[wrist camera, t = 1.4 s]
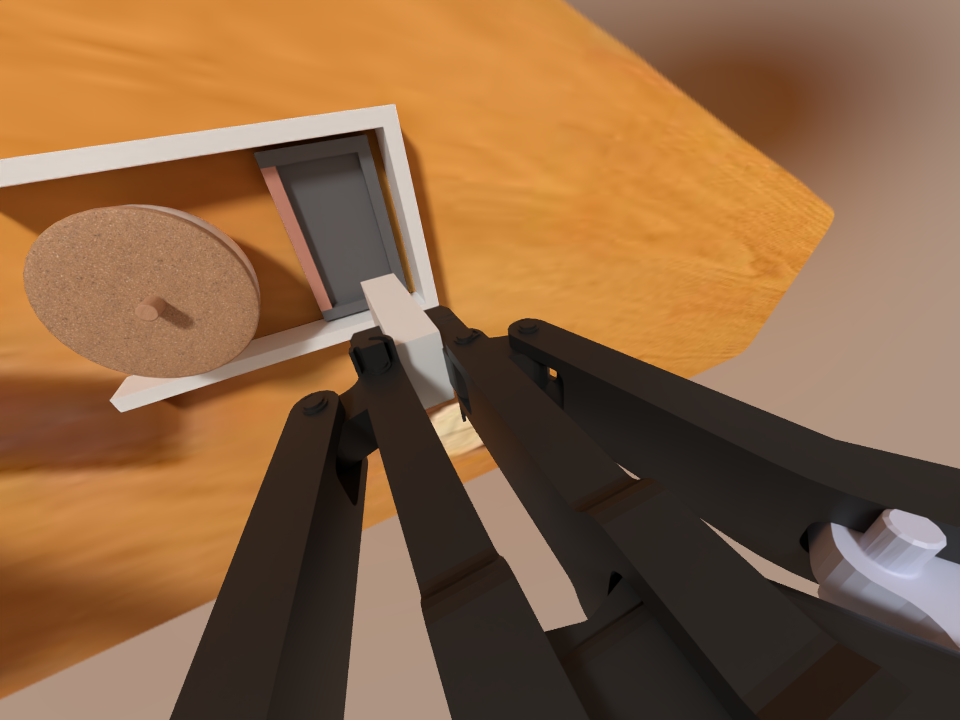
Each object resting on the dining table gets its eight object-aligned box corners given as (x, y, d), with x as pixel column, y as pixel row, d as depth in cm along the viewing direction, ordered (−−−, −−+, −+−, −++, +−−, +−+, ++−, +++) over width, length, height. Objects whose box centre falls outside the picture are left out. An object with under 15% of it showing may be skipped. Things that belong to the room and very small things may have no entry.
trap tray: (324, 315, 33) (325, 321, 32) (254, 152, 26) (253, 152, 25) (405, 291, 36) (409, 296, 34) (363, 135, 28) (366, 134, 27)
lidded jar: (288, 244, 30) (286, 275, 22) (238, 350, 32) (221, 411, 24) (115, 158, 23) (32, 163, 16) (68, 298, 26) (-23, 359, 18)
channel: (136, 388, 30) (121, 412, 27) (-53, 170, 21) (-105, 174, 18) (429, 299, 37) (440, 310, 34) (385, 108, 28) (395, 103, 25)
